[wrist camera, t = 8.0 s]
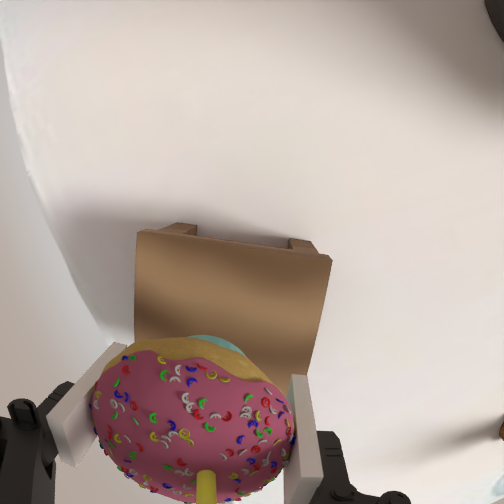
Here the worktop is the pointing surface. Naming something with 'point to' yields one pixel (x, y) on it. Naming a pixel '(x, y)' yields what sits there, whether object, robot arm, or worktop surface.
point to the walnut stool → (232, 295)
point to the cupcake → (192, 419)
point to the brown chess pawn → (502, 432)
